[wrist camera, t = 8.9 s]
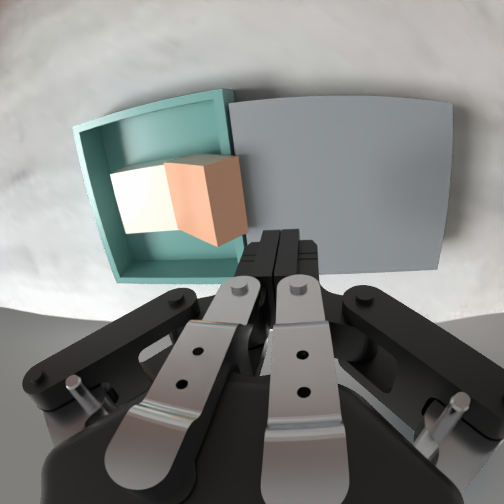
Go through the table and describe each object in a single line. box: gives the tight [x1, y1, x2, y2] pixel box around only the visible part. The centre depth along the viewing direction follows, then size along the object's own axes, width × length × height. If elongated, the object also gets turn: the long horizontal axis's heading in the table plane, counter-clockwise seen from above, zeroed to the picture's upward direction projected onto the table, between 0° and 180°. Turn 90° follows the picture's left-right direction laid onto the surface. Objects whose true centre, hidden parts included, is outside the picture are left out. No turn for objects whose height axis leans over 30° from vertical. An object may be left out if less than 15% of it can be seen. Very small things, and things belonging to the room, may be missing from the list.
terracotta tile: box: [164, 154, 248, 247], centre depth 20 cm, size 5×5×2 cm
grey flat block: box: [228, 95, 453, 275], centre depth 20 cm, size 14×12×4 cm
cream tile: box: [110, 157, 180, 234], centre depth 22 cm, size 5×5×2 cm
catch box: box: [72, 89, 247, 284], centre depth 22 cm, size 12×14×4 cm
